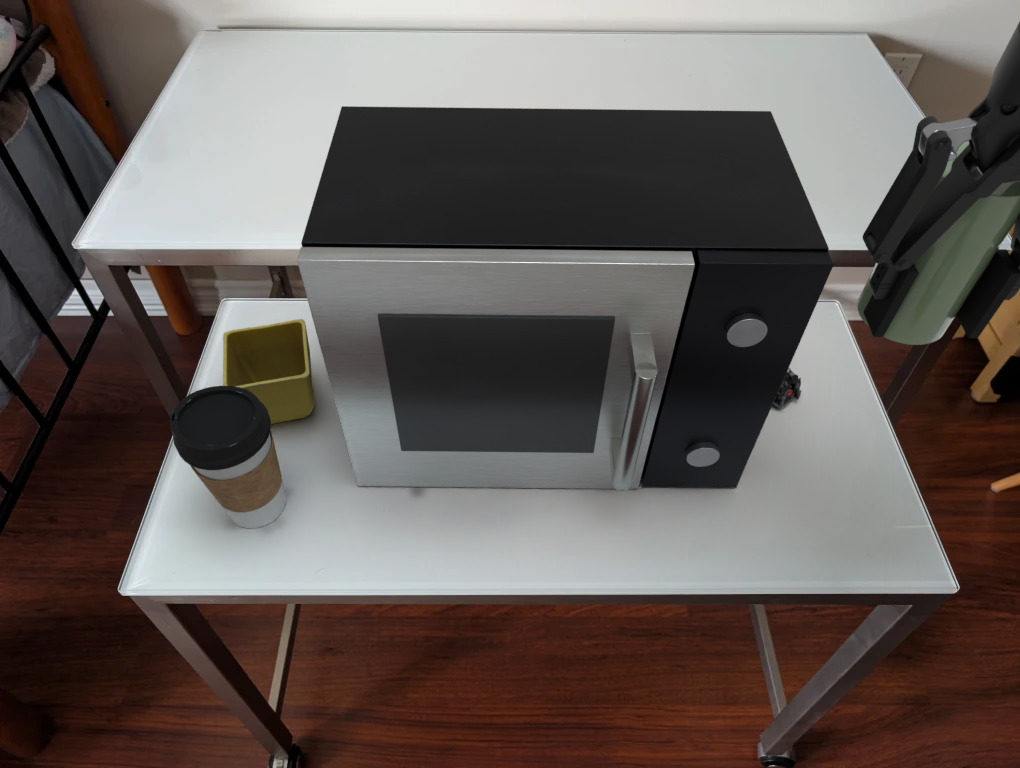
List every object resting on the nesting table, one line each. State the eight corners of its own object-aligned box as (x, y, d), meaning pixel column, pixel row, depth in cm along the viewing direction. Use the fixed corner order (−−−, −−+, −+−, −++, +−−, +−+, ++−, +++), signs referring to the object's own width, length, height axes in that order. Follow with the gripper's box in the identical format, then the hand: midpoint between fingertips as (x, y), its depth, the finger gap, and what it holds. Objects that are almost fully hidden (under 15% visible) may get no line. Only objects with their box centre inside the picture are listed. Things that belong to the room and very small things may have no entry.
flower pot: (245, 442, 82) (221, 390, 76) (244, 384, 88) (222, 330, 81) (325, 428, 84) (309, 375, 77) (319, 371, 89) (304, 317, 82)
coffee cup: (221, 473, 80) (175, 381, 68) (301, 466, 80) (269, 374, 69) (209, 543, 74) (157, 457, 63) (296, 535, 75) (259, 448, 64)
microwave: (737, 495, 78) (838, 269, 55) (356, 491, 78) (294, 263, 55) (702, 341, 93) (771, 110, 69) (382, 338, 93) (341, 106, 69)
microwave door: (643, 530, 75) (706, 310, 52) (350, 527, 75) (282, 306, 52) (636, 476, 80) (692, 250, 56) (359, 473, 80) (300, 246, 56)
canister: (960, 345, 59) (1060, 196, 48) (872, 345, 59) (953, 196, 48) (927, 285, 64) (1012, 138, 53) (845, 285, 64) (914, 137, 53)
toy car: (779, 336, 94) (789, 312, 91) (806, 411, 86) (818, 388, 83) (731, 336, 94) (739, 313, 91) (754, 411, 86) (763, 388, 83)
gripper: (1233, 1, 43) (1023, 293, 61) (897, -3, 43) (784, 291, 61) (1323, 63, 39) (1066, 361, 56) (945, 59, 39) (807, 359, 56)
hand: (919, 324), depth 59 cm, fingers closed on canister, 7 cm apart
